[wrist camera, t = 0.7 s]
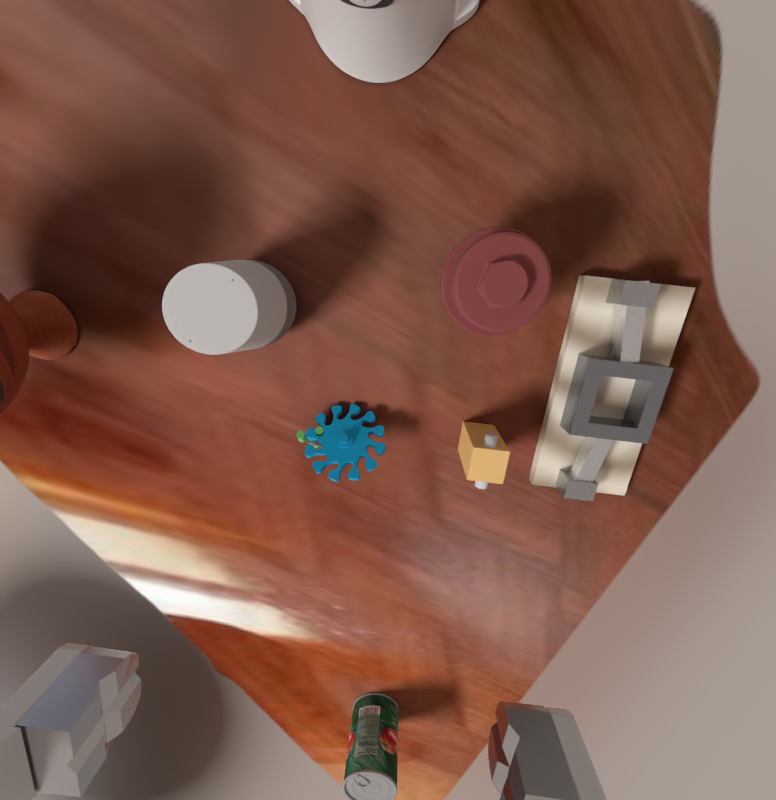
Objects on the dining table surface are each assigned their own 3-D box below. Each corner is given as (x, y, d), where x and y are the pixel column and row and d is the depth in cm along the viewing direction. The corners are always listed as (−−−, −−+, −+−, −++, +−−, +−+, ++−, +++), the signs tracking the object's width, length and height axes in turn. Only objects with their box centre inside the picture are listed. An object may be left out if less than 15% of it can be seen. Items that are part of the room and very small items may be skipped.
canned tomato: (408, 712, 65) (408, 795, 55) (373, 730, 67) (366, 813, 57) (378, 685, 64) (373, 764, 53) (343, 704, 65) (331, 785, 55)
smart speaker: (272, 357, 48) (219, 387, 34) (211, 307, 46) (131, 318, 33) (318, 298, 45) (280, 305, 32) (255, 243, 44) (188, 227, 30)
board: (579, 275, 43) (585, 275, 41) (685, 287, 43) (695, 287, 41) (528, 478, 51) (532, 484, 49) (618, 489, 51) (624, 495, 49)
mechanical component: (521, 228, 42) (525, 320, 45) (430, 243, 43) (440, 332, 46) (566, 208, 30) (567, 334, 33) (439, 230, 31) (451, 350, 34)
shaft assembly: (599, 276, 41) (613, 276, 39) (681, 285, 41) (702, 286, 38) (543, 486, 49) (552, 498, 47) (612, 494, 49) (625, 507, 46)
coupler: (464, 412, 48) (475, 437, 41) (495, 416, 48) (512, 441, 41) (456, 457, 50) (465, 489, 43) (486, 461, 50) (500, 493, 43)
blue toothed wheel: (394, 410, 47) (373, 487, 43) (394, 429, 52) (376, 500, 48) (310, 392, 49) (281, 466, 44) (318, 413, 54) (294, 480, 49)
